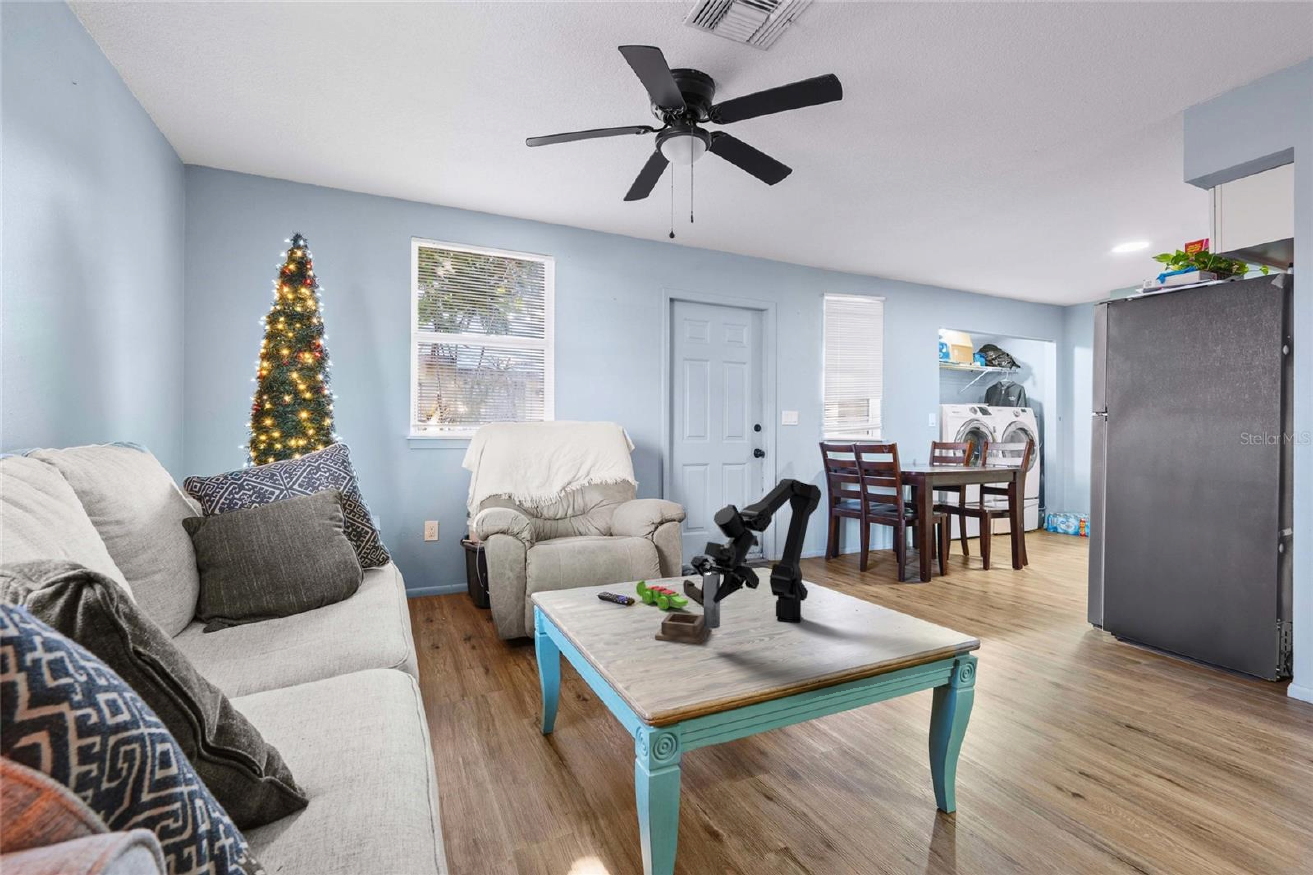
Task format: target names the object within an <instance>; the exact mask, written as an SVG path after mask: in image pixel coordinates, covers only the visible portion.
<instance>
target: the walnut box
mask: <svg viewBox="0 0 1313 875" xmlns="http://www.w3.org/2000/svg"><path fill="white" fill-rule="evenodd" d="M660 624H661V627H660V629H659V630H658V631H657V632H656V633H655V635H654V639H655V640H661V641H662V640H663V641H671V642H680V643H690V644H700V645H702V643H703V641H704V640H705V638H706V637H705V636H707V634H708V633H709V632H710V630H711V629H710V628H706V627H704V614H698V613H688V612H687V613H686V612H677V611H676V612H675V611H674V612H673V611H670V612H669V613H668V614H667V616H666V617H665V618H664V619H663V620H662V621H661V623H660Z"/></svg>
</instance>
